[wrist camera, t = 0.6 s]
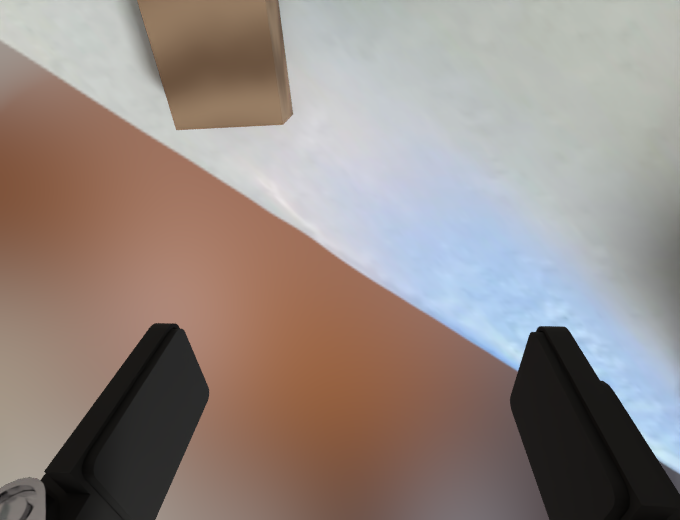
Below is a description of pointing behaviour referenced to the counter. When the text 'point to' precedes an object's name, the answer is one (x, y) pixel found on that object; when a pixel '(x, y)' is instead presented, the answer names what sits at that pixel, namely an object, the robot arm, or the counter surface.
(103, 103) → the counter surface
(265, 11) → the stand
